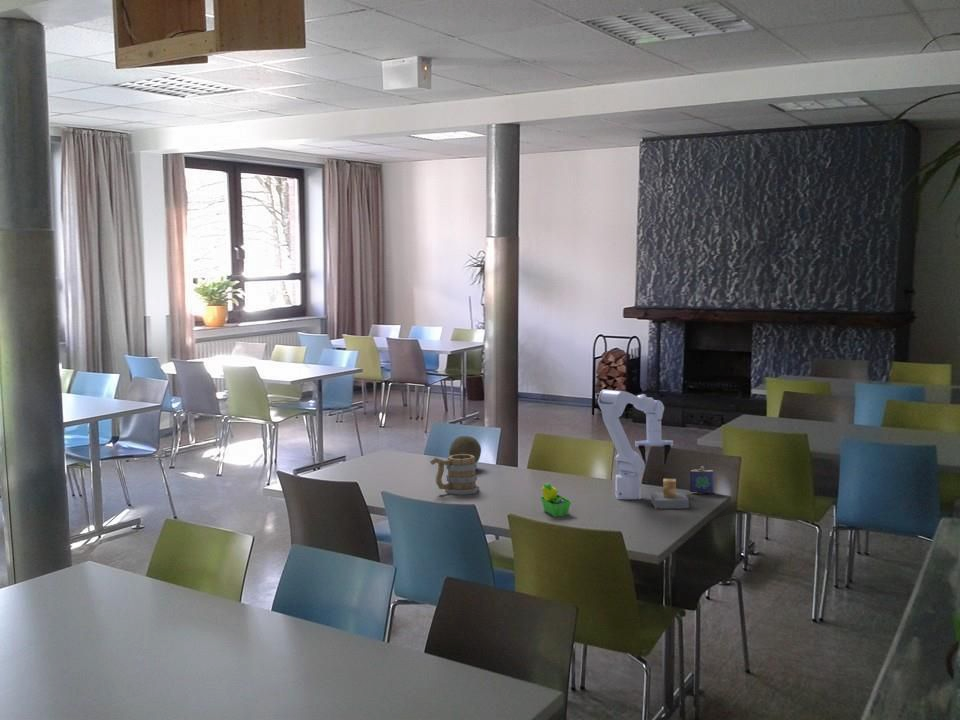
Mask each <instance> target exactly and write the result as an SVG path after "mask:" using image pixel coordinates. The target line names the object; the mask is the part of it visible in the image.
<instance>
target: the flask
mask: <svg viewBox="0 0 960 720" xmlns="http://www.w3.org/2000/svg"><path fill="white" fill-rule="evenodd" d="M690 492H697V493H708V494H707V495H712V494H714V493H715V471H714V470H712V469H708V470H707V469H706V470H705V467H704V465H703V466H702V465H701V466H700V468H699V469H698V468H697V469H695V468H694V469H692V470H689V493H690Z"/></svg>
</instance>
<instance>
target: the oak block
mask: <svg viewBox="0 0 960 720" xmlns="http://www.w3.org/2000/svg"><path fill="white" fill-rule="evenodd" d="M662 482H663V483H662V484H663V485H662V489H663V490H662V491H663V497H668V498H676V492H677V478H663V480H662Z"/></svg>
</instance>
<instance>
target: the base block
mask: <svg viewBox="0 0 960 720" xmlns="http://www.w3.org/2000/svg"><path fill="white" fill-rule="evenodd" d="M651 500H652V501H651ZM650 501H651V503H652V502H653V503H652V504H654V505H655V506H654V505H653V506H654V508H655V507H656V508H659V509H690V499H689V497H687V495H686V494H685V493H684V491H676V498H668V497H663V492H660V491H659V492H657V491H656V492H655V491H654V492H650ZM656 508H655V509H656Z"/></svg>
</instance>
